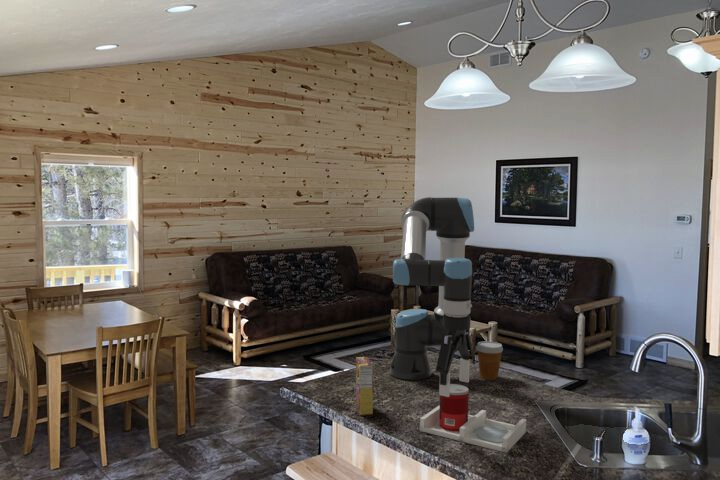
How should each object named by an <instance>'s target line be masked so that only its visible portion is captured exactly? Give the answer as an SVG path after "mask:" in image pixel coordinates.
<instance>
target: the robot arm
mask: <svg viewBox="0 0 720 480" xmlns="http://www.w3.org/2000/svg"><path fill="white" fill-rule="evenodd" d="M474 219H475V218H474V209H473V204H472V201H471V200H470V199H469V198H464V197H432V196H431V197H423V198H419V199H418V200H416V201H414V202H413V203H411V204H410V205H409V206H408V207H406V209H405V210H404V212H403V213H402V216H401V218H400V227H401V229H402V243H401V255H400V258H397V259H395V260H393V262H392V282H393V283H394V284H395V285H401V286H402V285H403V286H405V287H406V286H427V287H428V286H429V287H438V304H437V305H438V306H436V307H435V308H434V310H433V314H431V313H430V314H429V311H428V310H427V309H424V308H423V309H422V308H414V309H408V310H407V309H406V310H403V311H401V312H399V313H398V314H396V317H395V324H394V328H395V336H394V337H395V342H394V343H395V344H394V347H395V348H394V354H393V358H392V359H391V363H390V366H389V374H390V375H391V376H392V377H395V378H398V379H402V380H409V381H417V380H425V379H428V378H430V377H431V376H432V366H431V363H430V358H429V356H428V348H429V347H433V348H439V354H438V356H437V357H438V359H437V362H436V366H435V372H437V373H439V386H438V387H439V390H438V395H439V396H440V395H442V396H446V397H449V396H450V384H451V372H449V371H450V369H451V365H452V362H453V359H454V355H455V353H456V352H459V355H460V356H461V358H459V375H458V376H459V377H458V379H459V382H463V383H467V384H468V383H469V382H470V361H473V359H474V349H473V344H472V338H471V335H470V333H471V322H472V321H471V319H472V318H471V316H470V314H471V308H473V305H472V303H471V302H472V301H471V300H472V277H473V276H472V275H473V267H472V266H473V262H472V260H470V259H469V258H465V254H466V252H465V251H466V241H467V240H468V239H469V238H471V237H470V236H471V233H473V232H474V231H475V220H474ZM427 231H431V232H435V234H436V238H437V239H439V241H440V242H439V243H440V245H439V253H440V254H439V259H437V260H435V259H433V260H432V259H426V255H427V254H426V253H427V252H426V251H427V250H426V249H427V248H426V247H427Z"/></svg>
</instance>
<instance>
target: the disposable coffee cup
mask: <svg viewBox="0 0 720 480" xmlns="http://www.w3.org/2000/svg"><path fill="white" fill-rule="evenodd" d="M475 348H476V350H477V357H478V358H477V359H478V371H479V377H480V378H482V379H484V380H497V379H498V376H499V369H500V365H501V359H502V353H503V350H504V348H503V345H502V343H499V342H496V341H485V340H484V341H479V342H477V345H476V346H475Z"/></svg>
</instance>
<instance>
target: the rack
mask: <svg viewBox="0 0 720 480" xmlns="http://www.w3.org/2000/svg"><path fill="white" fill-rule="evenodd" d="M439 411H440V404H439V405H437V406H436V407H434V408H433V409H432V410H430V411H429V412H427V413H426V414H424V415H422V417H420V418H419V431H420V432H422V433H425V434H431V435H435V436H439V437H443V438H447V439H451V440H455V441H458V442H461V443H465V444H466V443H467V444H471V445H475V446H478V447H482V448H486V449H490V450H495V451H498V452H501V453H508V452H509V451H510V450H511V449H512V448H513V447H514V446H515V444H516V443H517V442H518V441H519V440H520V439H521V438H522V437H523V436H524V435H525V433H527V419H526V418H521V419H520V420H519V421H518V422H517V423H516V424H513V423H507V422H504V421H499V420H495V419H490V418H486V417H487V410H484V409H481V410H480V411H478V412H477V413H476V414H475V415H471V414H469V413H468V422H466V423H465V424H464V425H463V426H461V427H460V431H448V430H445V429H443V428H441V426H440V424H439ZM486 425H492V426H499V427H503V428H505V429H507V430H509V432H508V433H507V434H506V435H505V436H504V437H503V438H502V443H491V442H487V441H483V440H481V439H479V438H478V437H477V435H476V432H477V428H479V427H481V426H486Z"/></svg>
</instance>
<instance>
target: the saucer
mask: <svg viewBox="0 0 720 480" xmlns="http://www.w3.org/2000/svg"><path fill="white" fill-rule="evenodd" d="M508 432H509V430H507V429H505V428H503V427H499V426H492V425H486V426H481V427H479V428H477V432H476V435H477V437H478V438H479V439H481V440H483V441H487V442H491V443H502V438H503V437H504V436H505V435H506V434H507V433H508Z"/></svg>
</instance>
